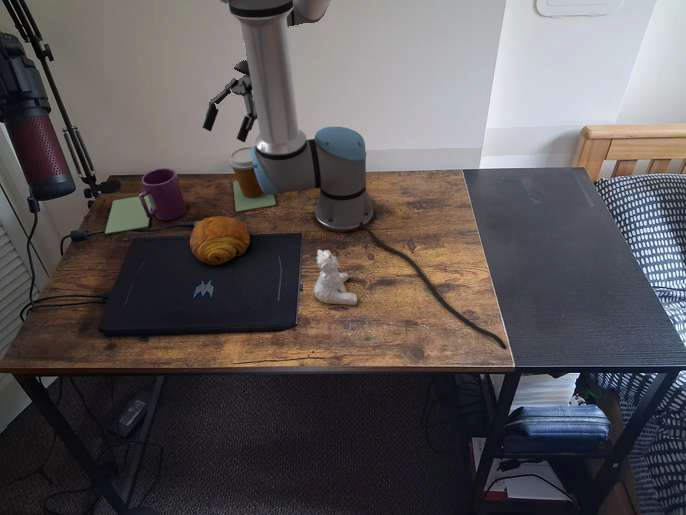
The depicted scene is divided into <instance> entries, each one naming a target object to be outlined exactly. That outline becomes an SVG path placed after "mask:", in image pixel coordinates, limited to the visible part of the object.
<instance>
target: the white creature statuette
mask: <svg viewBox="0 0 686 515" xmlns="http://www.w3.org/2000/svg"><path fill="white" fill-rule="evenodd" d="M331 252H332V251H330V250H329V249H324V250H321V249H317V256H316V257H315V259H316V260H317V262H316V265H317V266H318V269H319V270H320V272H319V273H318V274H319V276H318V278H317V280H316V282H315V285H314V286H313V293H314V296H315V298H316V299H318V300H319V301H320V302H322V303H324V304H329V305H330V304H335V305H346V306H347V305H348V306H355V305H356V306H357V304H358V297H357V296H358V295H357V294H355V293H352V292H350V291H347V288H346V286H345V284H344V283H345V282H347V280H349V274H348V273H347V272H346V271H345V272H340V271H339V270H338V268H339V267H340V263H339V261H338V257H337V256H335V255H333V254H332V253H331Z"/></svg>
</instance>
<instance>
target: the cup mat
mask: <svg viewBox="0 0 686 515" xmlns="http://www.w3.org/2000/svg"><path fill="white" fill-rule="evenodd" d="M232 187H233V197H234V198H233V200H234V208H235V213H242V212H248V211H253V210H258V209H264V208H265V209H266V208H271V207H277V202H276V198H275V194H272V195H268V194H266V193H263V195H261V196H259V197H256V198H247V197H244V196H243V194H242V191H241V188H240V186H239V183H238V180H234V181H232Z"/></svg>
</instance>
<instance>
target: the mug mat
mask: <svg viewBox="0 0 686 515" xmlns="http://www.w3.org/2000/svg"><path fill="white" fill-rule="evenodd" d="M144 199H145V201H146V204H147V207H148V209H149V212H151V211H152V207H151V204H150V202H149V199H148V197H147V196H145V197H144ZM111 204H112V205H111V208H110V212H109V216H108V219H107V222H106V227H105V230H104V235H111V234H118V233H123V232H129V231H134V230H140V229H146V228H150V220H151V217H150V218H148V217H147V216H146V214H145V211H144V209H143V206H142V204H141V201H140V199H139V196H132V197H127V198H120V199H115V200H113V201H112V203H111Z"/></svg>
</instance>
